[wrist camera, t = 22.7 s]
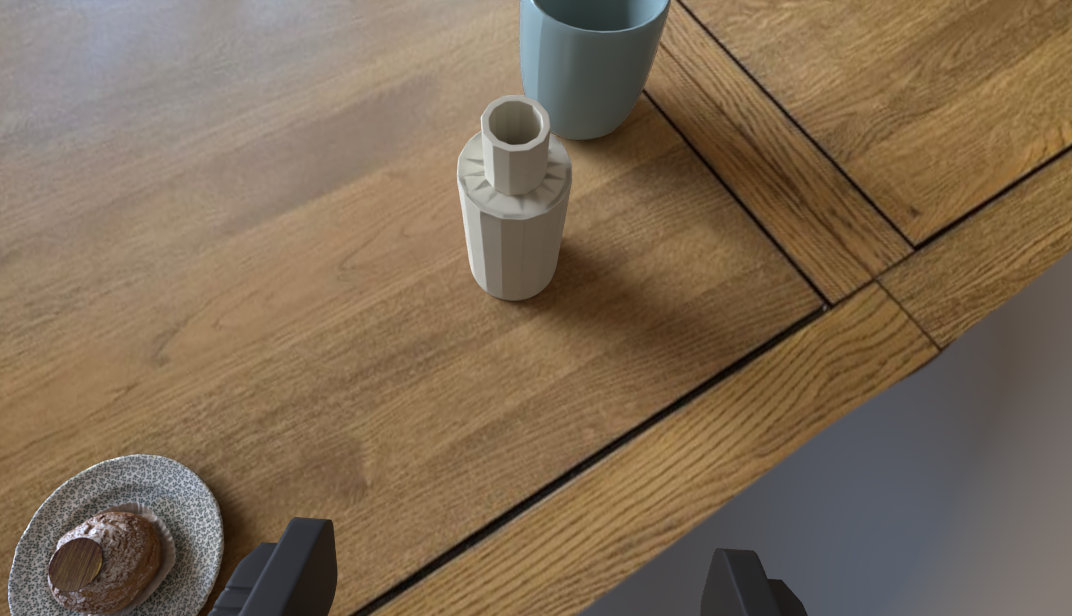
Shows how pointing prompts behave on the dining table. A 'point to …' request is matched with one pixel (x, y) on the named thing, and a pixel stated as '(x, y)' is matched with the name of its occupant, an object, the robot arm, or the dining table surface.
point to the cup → (588, 59)
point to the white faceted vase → (514, 198)
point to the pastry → (121, 544)
